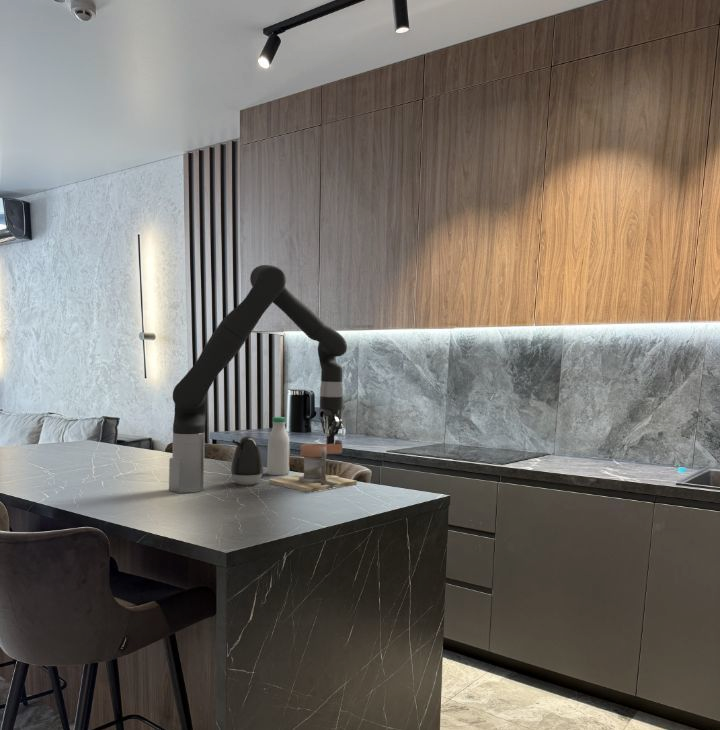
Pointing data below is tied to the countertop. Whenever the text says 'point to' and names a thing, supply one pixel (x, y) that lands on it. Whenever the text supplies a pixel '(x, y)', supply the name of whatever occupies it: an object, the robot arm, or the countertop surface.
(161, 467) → the countertop surface
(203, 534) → the countertop surface
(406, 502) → the countertop surface
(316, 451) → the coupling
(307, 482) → the post board
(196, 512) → the countertop surface
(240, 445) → the pump dispenser
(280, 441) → the milk bottle
